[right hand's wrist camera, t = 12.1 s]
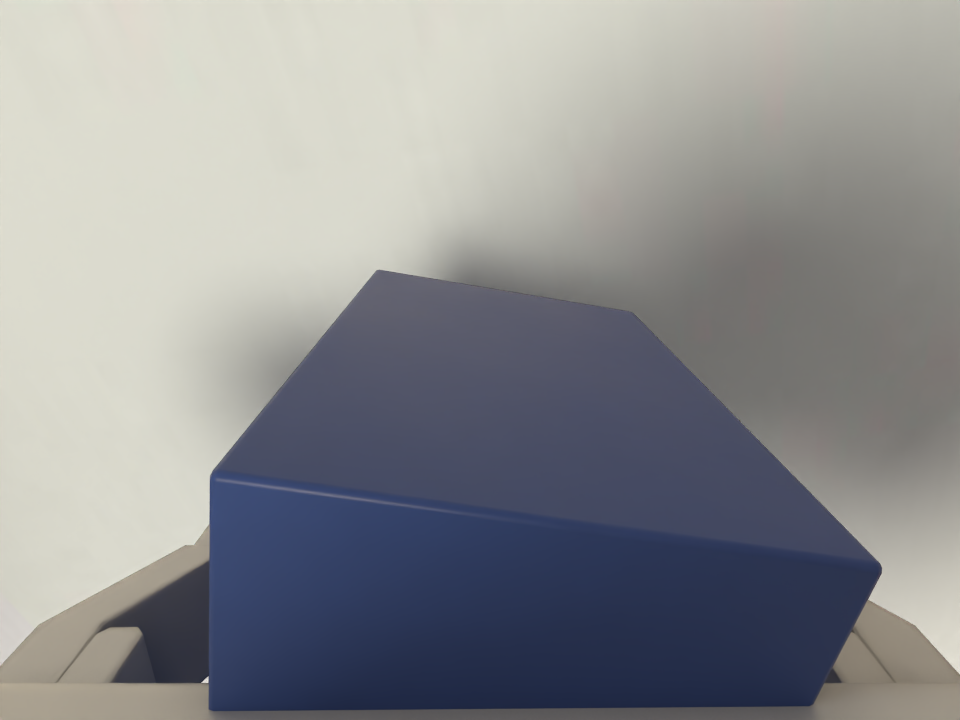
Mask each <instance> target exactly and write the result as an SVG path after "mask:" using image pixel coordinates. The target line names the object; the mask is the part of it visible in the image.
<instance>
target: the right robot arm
mask: <svg viewBox="0 0 960 720" xmlns="http://www.w3.org/2000/svg"><path fill="white" fill-rule="evenodd" d="M209 552H210V524H209V525H208V527H207V528H206V529H205V531H204V532H203V534H202V535H201V536H200V538H199V539H198V540H197V542H196V543H195V545H185V546H183V547H181V548H180V549H178V550H176V551H174V552H172V553H170V554H169V555H167V556H165V557H163V558H161V559H159V560H157V561H156V562H154V563H152V564H150V565H148V566H146V567H145V568H143V569H141V570H139V571H137V572H135V573H133V574H132V575H130V576H128V577H126V578H124V579H122V580H121V581H119V582H117V583H115V584H113V585H111V586H109V587H108V588H106V589H104V590H102V591H100V592H98V593H97V594H95V595H93V596H91V597H89V598H87V599H85V600H84V601H82V602H80V603H78V604H76V605H74V606H73V607H71V608H69V609H67V610H65V611H63V612H61V613H60V614H58V615H56V616H54V617H52V618H50V619H49V620H47V621H45V622H43V623H41V624H39V625H38V626H37V627H36V628H35V629H34V630H33V632H32V633H31V634H30V635H29V636H28V637H27V638H26V639H25V640H24V641H23V642H22V643H21V644H20V645H19V647H18V648H17V649H16V650H15V651H14V652H13V653H12V654H11V655H10V656H9V657H8V658H7V659H6V660H5V662H4V663H3V664H2V665H1V666H0V720H960V674H959V673H958V672H957V671H956V670H955V669H954V668H953V667H952V666H951V665H950V664H949V662H948V661H947V660H946V659H945V658H944V657H943V656H942V655H941V654H940V653H939V651H938V650H937V649H936V648H935V647H934V646H933V645H932V644H931V643H930V642H929V640H928V639H927V638H926V637H925V636H924V635H923V634H922V633H921V632H920V631H919V630H918V628H917V627H916V626H915V625H913V624H911V623H909V622H907V621H906V620H904V619H902V618H900V617H898V616H896V615H895V614H893V613H891V612H889V611H887V610H886V609H884V608H882V607H880V606H878V605H876V604H875V603H873V602H871V601H869V600H867V602H866V604H865V606H864V608H863V610H862V612H861V614H860V616H859V618H858V619H857V621H856V623H855V625H854V627H853V629H852V631H851V633H850V635H849V637H848V639H847V641H846V642H845V644H844V646H843V648H842V650H841V652H840V654H839V656H838V658H837V660H836V662H835V664H834V666H833V667H832V669H831V671H830V673H829V675H828V677H827V679H826V681H825V683H824V685H823V687H822V689H821V691H820V692H819V694H818V696H817V698H816V700H815V702H814V704H813V705H811V706H787V707H665V708H544V709H422V710H301V711H212V710H209V683H201V682H202V681H203V680H204V679H206V678H207V677H208V676H209Z"/></svg>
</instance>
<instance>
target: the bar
mask: <svg viewBox="0 0 960 720" xmlns="http://www.w3.org/2000/svg"><path fill="white" fill-rule="evenodd" d="M881 573H882V567H881V565H880V563H879V562H878V561H877V560H876V559H875V558H874V557H873V556H872V555H871V554H870V553H869V552H868V551H867V550H866V549H865V548H864V547H863V546H862V545H861V544H860V543H859V542H858V541H857V540H856V539H855V538H854V537H853V536H852V535H851V534H850V533H849V532H848V531H847V530H846V529H845V527H844V526H843V525H842V524H841V523H840V522H839V521H838V520H837V519H836V518H835V517H834V516H833V515H832V514H831V513H830V512H829V511H828V510H827V509H826V508H825V507H824V506H823V505H822V504H821V503H820V502H819V501H818V500H817V499H816V498H815V497H814V496H813V495H812V494H811V493H810V492H809V491H808V490H807V489H806V488H805V487H804V486H803V485H802V484H801V483H800V482H799V481H798V480H797V479H796V478H795V477H794V476H793V475H792V474H791V473H790V472H789V471H788V470H787V469H786V468H785V467H784V466H783V465H782V464H781V463H780V462H779V461H778V460H777V458H776V457H775V456H774V455H773V454H772V453H771V452H770V451H769V450H768V449H767V448H766V447H765V446H764V445H763V444H762V443H761V442H760V441H759V440H758V439H757V438H756V437H755V436H754V435H753V434H752V433H751V432H750V431H749V430H748V429H747V428H746V427H745V426H744V425H743V424H742V423H741V422H740V421H739V420H738V419H737V418H736V417H735V416H734V415H733V414H732V413H731V412H730V411H729V410H728V409H727V408H726V407H725V406H724V405H723V404H722V403H721V402H720V401H719V400H718V399H717V398H716V397H715V396H714V395H713V394H712V393H711V392H710V391H709V389H708V388H707V387H706V386H705V385H704V384H703V383H702V382H701V381H700V380H699V379H698V378H697V377H696V376H695V375H694V374H693V373H692V372H691V371H690V370H689V369H688V368H687V367H686V366H685V365H684V364H683V363H682V362H681V361H680V360H679V359H678V358H677V357H676V356H675V355H674V354H673V353H672V352H671V351H670V350H669V349H668V348H667V347H666V346H665V345H664V344H663V343H662V342H661V341H660V340H659V339H658V338H657V337H656V336H655V335H654V334H653V333H652V332H651V331H650V330H649V329H648V328H647V327H646V326H645V325H644V324H643V323H642V322H641V320H640V319H639V318H638V317H637V316H636V315H635V314H634V313H632V312H629V311H623V310H617V309H611V308H605V307H599V306H593V305H587V304H581V303H575V302H569V301H563V300H557V299H551V298H545V297H539V296H533V295H527V294H521V293H515V292H509V291H503V290H497V289H491V288H485V287H479V286H473V285H467V284H461V283H455V282H449V281H443V280H437V279H431V278H425V277H419V276H413V275H407V274H401V273H395V272H389V271H383V270H376V272H375V273H374V274H373V275H372V277H371V278H370V279H369V280H368V281H367V283H366V284H365V285H364V286H363V288H362V289H361V290H360V291H359V292H358V294H357V295H356V296H355V297H354V299H353V300H352V301H351V302H350V303H349V305H348V306H347V307H346V308H345V310H344V311H343V312H342V313H341V314H340V316H339V317H338V318H337V319H336V321H335V322H334V323H333V324H332V326H331V327H330V328H329V329H328V330H327V332H326V333H325V334H324V335H323V337H322V338H321V339H320V340H319V341H318V343H317V344H316V345H315V346H314V348H313V349H312V350H311V351H310V352H309V354H308V355H307V356H306V357H305V359H304V360H303V361H302V362H301V363H300V365H299V366H298V367H297V368H296V370H295V371H294V372H293V373H292V374H291V376H290V377H289V378H288V379H287V381H286V382H285V383H284V384H283V385H282V387H281V388H280V389H279V390H278V392H277V393H276V394H275V395H274V396H273V398H272V399H271V400H270V401H269V403H268V404H267V405H266V406H265V407H264V409H263V410H262V411H261V412H260V414H259V415H258V416H257V417H256V419H255V420H254V421H253V422H252V423H251V425H250V426H249V427H248V428H247V430H246V431H245V432H244V433H243V434H242V436H241V437H240V438H239V439H238V441H237V442H236V443H235V444H234V445H233V447H232V448H231V449H230V450H229V452H228V453H227V454H226V455H225V456H224V458H223V459H222V460H221V461H220V463H219V464H218V465H217V466H216V467H215V469H214V470H213V472H212V473H211V475H210V552H209V710H212V711H301V710H422V709H544V708H665V707H787V706H811V705H813V704H814V702H815V700H816V698H817V696H818V694H819V692H820V691H821V689H822V687H823V685H824V683H825V681H826V679H827V677H828V675H829V673H830V671H831V669H832V667H833V666H834V664H835V662H836V660H837V658H838V656H839V654H840V652H841V650H842V648H843V646H844V644H845V642H846V641H847V639H848V637H849V635H850V633H851V631H852V629H853V627H854V625H855V623H856V621H857V619H858V618H859V616H860V614H861V612H862V610H863V608H864V606H865V604H866V602H867V600H868V598H869V596H870V594H871V593H872V591H873V589H874V587H875V585H876V583H877V581H878V579H879V577H880V575H881Z"/></svg>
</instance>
